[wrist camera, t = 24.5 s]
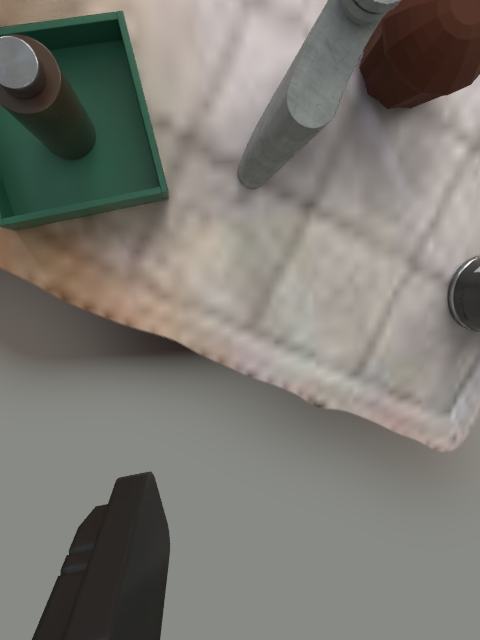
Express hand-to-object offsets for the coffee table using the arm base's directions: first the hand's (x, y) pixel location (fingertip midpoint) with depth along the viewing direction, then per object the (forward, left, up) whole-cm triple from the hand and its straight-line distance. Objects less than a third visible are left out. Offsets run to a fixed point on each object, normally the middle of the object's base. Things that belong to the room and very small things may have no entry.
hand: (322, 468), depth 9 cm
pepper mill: (+9, -20, -32) cm, 38 cm away
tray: (+9, -20, -32) cm, 39 cm away
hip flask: (-12, -18, -32) cm, 39 cm away
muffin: (-26, -21, -32) cm, 47 cm away
